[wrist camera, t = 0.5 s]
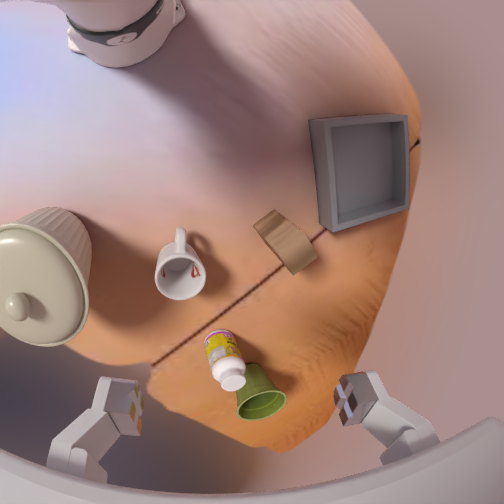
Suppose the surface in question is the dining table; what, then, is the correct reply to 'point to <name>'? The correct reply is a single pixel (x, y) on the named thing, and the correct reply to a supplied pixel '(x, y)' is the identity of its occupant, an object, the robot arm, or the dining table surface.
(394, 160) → the bin
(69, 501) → the robot arm
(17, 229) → the canister
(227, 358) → the supplement bottle
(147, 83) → the dining table surface
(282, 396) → the plant pot
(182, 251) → the cup
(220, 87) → the dining table surface
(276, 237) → the walnut block
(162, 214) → the dining table surface
